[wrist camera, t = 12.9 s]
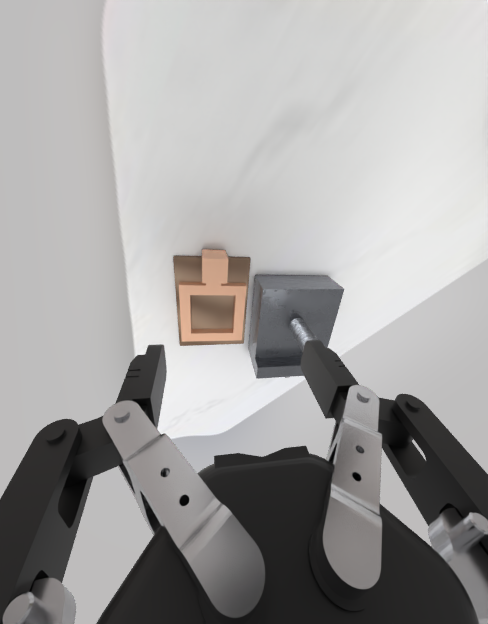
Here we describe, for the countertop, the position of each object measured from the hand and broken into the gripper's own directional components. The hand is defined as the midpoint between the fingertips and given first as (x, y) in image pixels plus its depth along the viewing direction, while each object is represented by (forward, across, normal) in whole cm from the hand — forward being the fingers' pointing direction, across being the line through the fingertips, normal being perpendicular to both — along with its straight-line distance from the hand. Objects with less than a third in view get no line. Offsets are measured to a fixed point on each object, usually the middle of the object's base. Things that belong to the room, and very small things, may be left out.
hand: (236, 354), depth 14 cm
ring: (+21, 0, +7) cm, 22 cm away
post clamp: (+21, -11, +11) cm, 26 cm away
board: (+21, 0, +8) cm, 23 cm away
